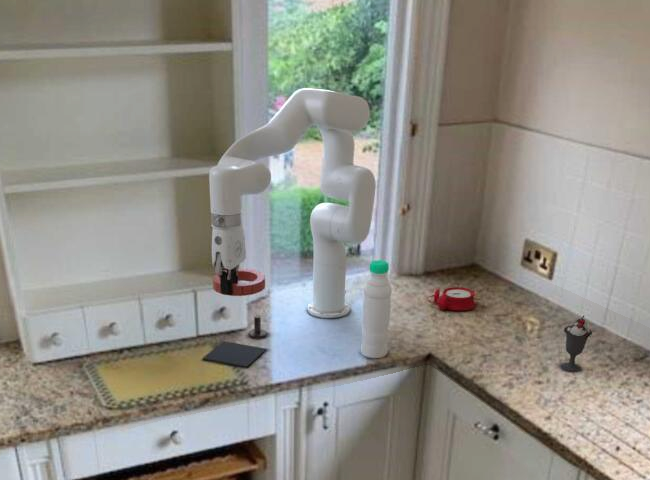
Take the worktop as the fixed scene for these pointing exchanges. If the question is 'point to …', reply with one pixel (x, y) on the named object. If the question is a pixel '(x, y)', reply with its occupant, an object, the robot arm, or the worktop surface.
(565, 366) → the sundae
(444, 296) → the alarm clock
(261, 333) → the peg stand
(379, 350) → the water bottle
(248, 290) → the ring
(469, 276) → the worktop surface
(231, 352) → the mat
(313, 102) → the robot arm
